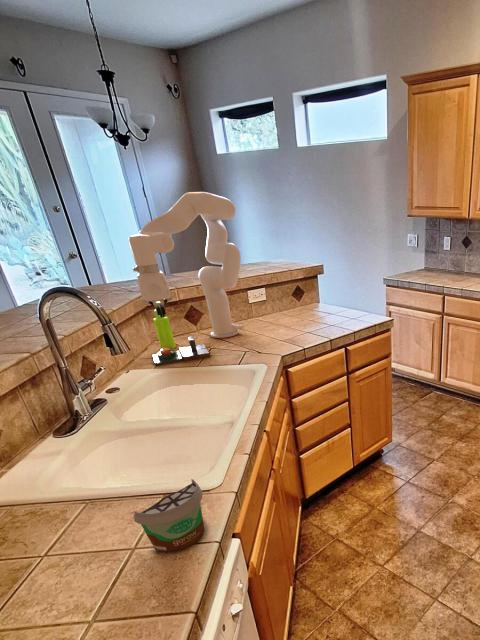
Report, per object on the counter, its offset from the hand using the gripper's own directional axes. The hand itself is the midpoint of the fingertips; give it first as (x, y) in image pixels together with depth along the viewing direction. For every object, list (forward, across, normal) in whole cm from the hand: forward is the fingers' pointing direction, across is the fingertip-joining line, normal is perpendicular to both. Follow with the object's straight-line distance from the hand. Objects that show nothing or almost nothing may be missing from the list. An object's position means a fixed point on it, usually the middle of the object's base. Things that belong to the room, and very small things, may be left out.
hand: (162, 316), depth 174 cm
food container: (+14, -12, -125) cm, 127 cm away
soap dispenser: (+17, 0, +13) cm, 21 cm away
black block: (+15, +8, -5) cm, 17 cm away
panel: (+17, +8, -5) cm, 19 cm away
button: (+14, -3, -5) cm, 15 cm away
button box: (+16, -3, -5) cm, 17 cm away
